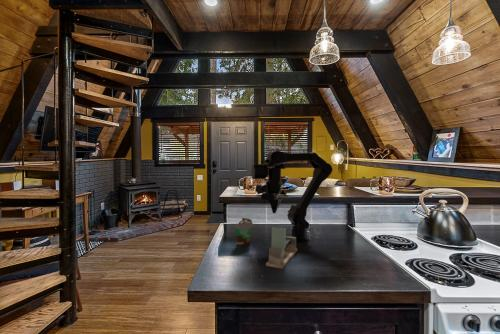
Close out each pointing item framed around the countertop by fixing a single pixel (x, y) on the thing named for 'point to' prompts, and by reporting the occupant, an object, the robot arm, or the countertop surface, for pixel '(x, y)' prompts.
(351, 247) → the countertop surface
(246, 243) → the food container
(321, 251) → the countertop surface
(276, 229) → the grey-green notched block
